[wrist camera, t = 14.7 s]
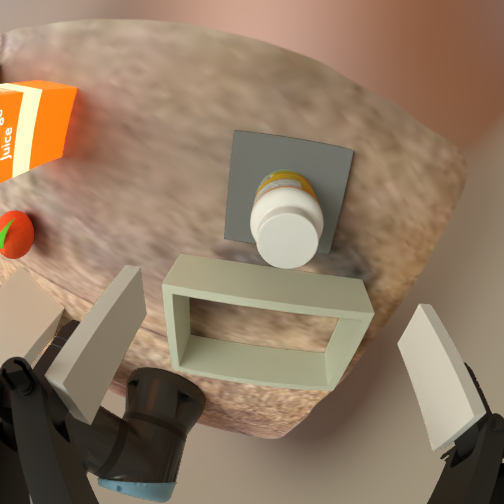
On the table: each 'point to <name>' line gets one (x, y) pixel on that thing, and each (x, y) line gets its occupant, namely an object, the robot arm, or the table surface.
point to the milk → (26, 317)
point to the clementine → (15, 234)
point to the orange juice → (32, 124)
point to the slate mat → (284, 158)
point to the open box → (266, 297)
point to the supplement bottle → (286, 219)
